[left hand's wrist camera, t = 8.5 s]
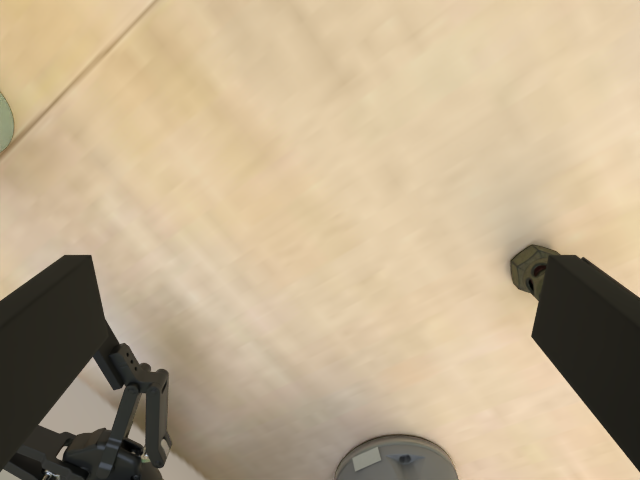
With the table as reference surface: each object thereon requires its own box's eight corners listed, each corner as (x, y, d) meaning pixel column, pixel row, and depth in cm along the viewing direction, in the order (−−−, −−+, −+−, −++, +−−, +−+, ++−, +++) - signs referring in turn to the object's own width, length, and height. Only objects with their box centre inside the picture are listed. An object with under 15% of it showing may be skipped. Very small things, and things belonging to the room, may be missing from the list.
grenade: (525, 309, 45) (619, 417, 31) (492, 273, 43) (575, 369, 29) (599, 255, 42) (737, 345, 28) (567, 215, 41) (697, 289, 27)
